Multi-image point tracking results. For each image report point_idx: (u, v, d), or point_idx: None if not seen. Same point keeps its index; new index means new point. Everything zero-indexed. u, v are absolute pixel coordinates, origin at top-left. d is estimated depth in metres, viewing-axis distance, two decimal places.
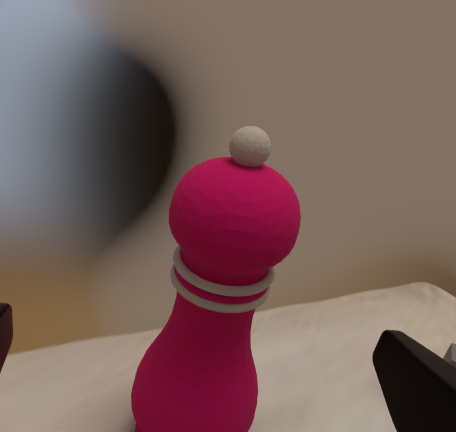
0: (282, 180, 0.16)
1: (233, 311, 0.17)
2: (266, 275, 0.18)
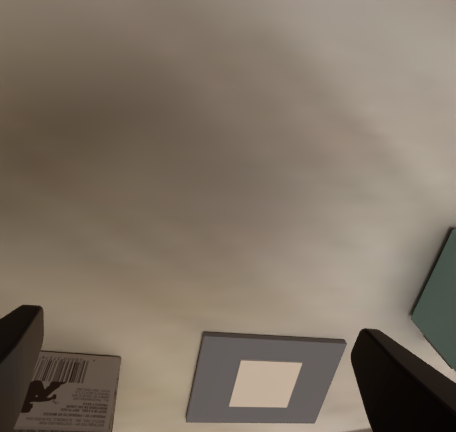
0: None
1: None
2: None
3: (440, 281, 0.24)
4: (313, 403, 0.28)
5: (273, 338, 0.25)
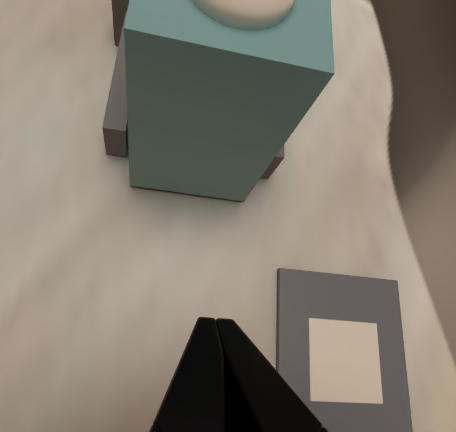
0: None
1: None
2: None
3: (186, 187, 0.22)
4: (367, 289, 0.24)
5: (278, 361, 0.21)
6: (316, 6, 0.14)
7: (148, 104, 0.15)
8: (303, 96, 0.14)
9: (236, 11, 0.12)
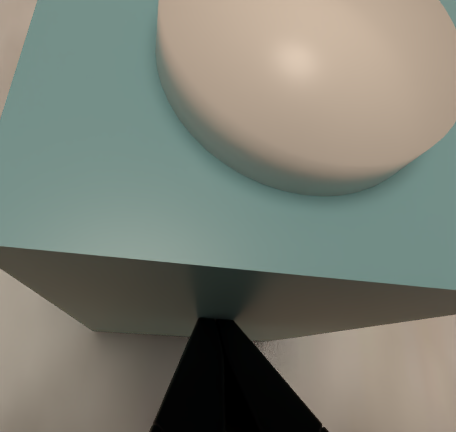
0: None
1: None
2: None
3: (181, 334, 0.14)
4: None
5: None
6: None
7: (93, 302, 0.07)
8: (441, 310, 0.06)
9: (313, 168, 0.04)
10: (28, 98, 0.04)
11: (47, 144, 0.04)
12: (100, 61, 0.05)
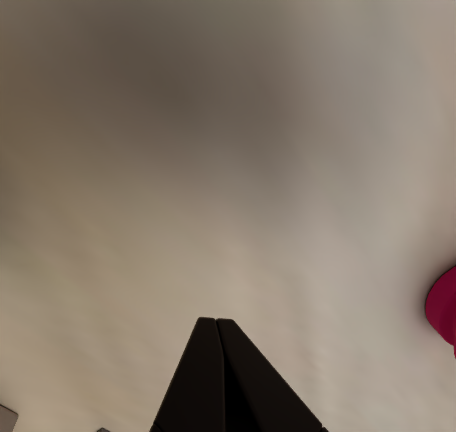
0: None
1: None
2: None
3: None
4: None
5: None
6: None
7: None
8: None
9: None
10: None
11: None
12: None
